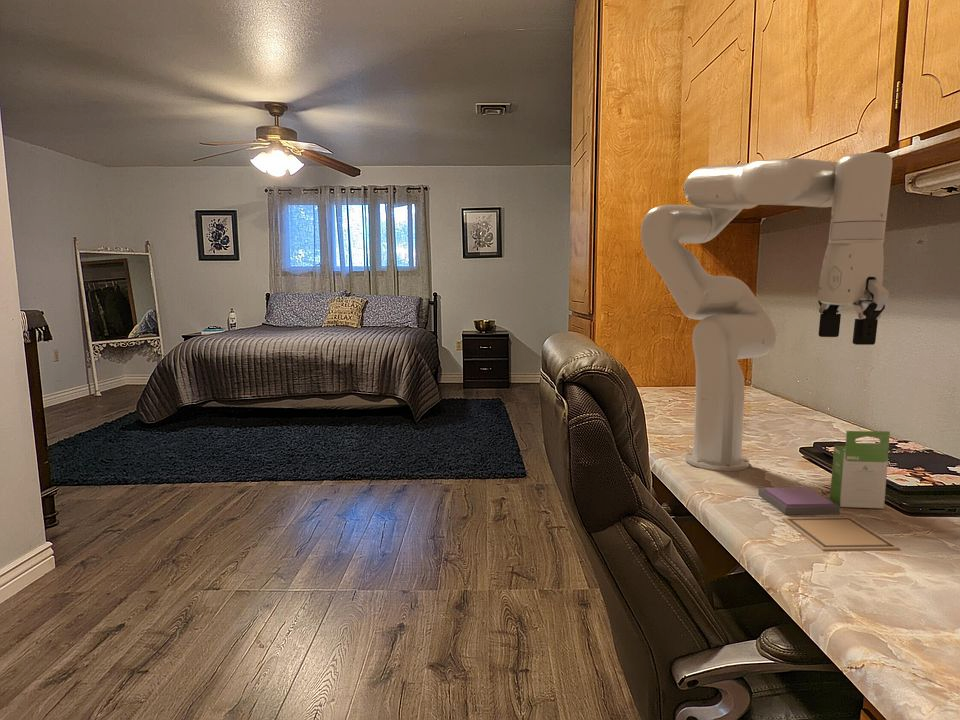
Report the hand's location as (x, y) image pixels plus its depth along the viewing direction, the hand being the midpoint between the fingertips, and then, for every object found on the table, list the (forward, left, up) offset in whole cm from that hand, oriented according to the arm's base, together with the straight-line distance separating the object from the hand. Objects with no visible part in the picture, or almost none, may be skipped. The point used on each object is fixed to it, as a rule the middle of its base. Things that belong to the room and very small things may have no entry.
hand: (845, 340), depth 95 cm
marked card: (+12, -7, -28) cm, 31 cm away
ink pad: (0, -6, -28) cm, 29 cm away
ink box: (0, +4, -29) cm, 29 cm away
